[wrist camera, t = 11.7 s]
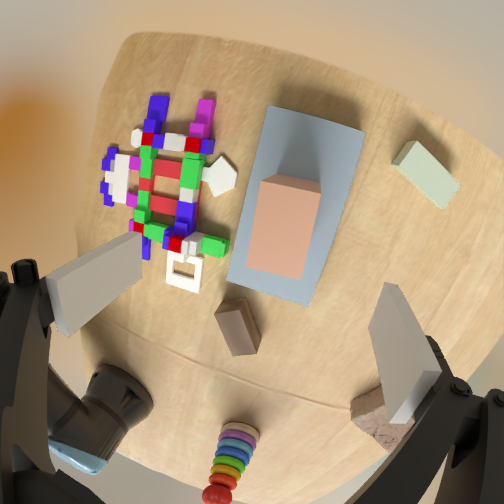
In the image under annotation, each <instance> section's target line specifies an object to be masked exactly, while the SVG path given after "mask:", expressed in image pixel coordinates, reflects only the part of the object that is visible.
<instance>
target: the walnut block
mask: <svg viewBox="0 0 504 504" xmlns="http://www.w3.org/2000/svg"><path fill="white" fill-rule="evenodd" d="M214 315H215V317H216V320H217V322H218V324H219V326H220V329H221V331H222V333H223V336H224V338H225V340H226V342H227V345H228V347H229V349H230V351H231V353H232V356H240V355H250V354H257V351H258V348H259V345H260V342H261V337H260V334H259V331H258V329H257V326H256V323H255V321H254V318H253V315H252V313H251V310H250V307H249V305H248V302H247V299H246V297H244V298H239V299H233V300H228V301H222V302H221V304H220V306H219V307H218V309H217V310H216V312H215V313H214Z"/></svg>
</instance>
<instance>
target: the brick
mask: <svg viewBox="0 0 504 504" xmlns="http://www.w3.org/2000/svg"><path fill="white" fill-rule="evenodd" d="M350 405H351V408H350V412H351V421H352V422H353V423H354V424H355V425H356V426H357V427H359V428H360V429H361V430H362V431H364V432H366V433H367V434H370V436H372V437H373V438H374V439H375V440H376V441H377V442H379V444H380V445H381V446H382V447H383V448H384V449H386V450H387V451H388V452H389V453H392V452H393V450H394V449H395V448H396V446H397V445H398V444H399V443H400V441H401V440H402V437H403V436H404V435H405V434H406V433H407V431H408V430H409V429H410V428H411V426H412V425H413V424H414V423H415V418H414V414H413V415H412V416H411V418H410V419H409V420H408V421H407V423H406V424H391V423H388V417H387V412H386V406H385V400H384V395H383V390H382V385H381V386H379V387H378V388H376V389H374V390H373V391H371V392H369V393H367V394H364V395H362V396H359V397H357V398H356V399H354V400H352V401H351V402H350Z"/></svg>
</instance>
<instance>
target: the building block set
mask: <svg viewBox="0 0 504 504" xmlns="http://www.w3.org/2000/svg"><path fill="white" fill-rule="evenodd" d="M169 100H170V97H168V96H151V97H150V102H149V108H148V113H147V119H145V120H144V126H143V130H141V129H140V128H137V129H135V130H133V131H132V136H131V144H132V145H133V146H134V147H135V148H138V147H139V146H141V147H140V155H139V156H133V155H124V154H118V150H119V148H113V147H108V150H107V159H106V158H103V159H102V170H105V171H106V172H105V181H101V185H100V193H104V205H107V206H111V207H112V206H114V202H118V203H122V204H126V205H127V206H130V207H134V208H136V209H135V211H134V218H133V219H131V220H129V232H130V231H134V232H139V233H142V259H145V260H150V247H151V240H154V241H158V242H161V243H163V246H162V248H163V249H166V250H168V257H167V273H166V283H167V284H170V285H173V286H176V287H179V288H182V289H185V290H189V291H192V292H195V293H198V294H199V293H200V288H201V279H202V271H203V263H204V258H202V257H198V256H195V255H197V254H198V253H199V252H200V251H201V253H204V254H208V255H212V256H215V257H219V258H220V257H224V256H225V255H226V254H227V253H228V248H229V242H230V240H227V239H223V238H219V237H215V236H211V235H207V234H204V233H200V232H196V231H195V228H196V220H197V212H198V205H199V198H200V191H201V184H202V181H205V182H207V183H208V185H209V187H210V189H211V192H212V194H213V196H214V197H216V196H218V195H220V194H222V193H224V192H226V191H228V190H230V189H232V188H234V187H236V182H237V176H238V173H237V172H236V170H235V169H234V168H233V167H232V166H231V165H230V164H229V162H228V161H227V160H226V159H225V158H224V157H223V156H221V157H220V158H219V159H218V160H217V161H216V162H215V163H214V164H213V165H212V166H211V167H210V168H209V167H204V165H205V159H206V154H213V150H214V145H215V140H210V139H209V137H210V132H211V126H212V121H213V116H214V111H215V106H216V101H214V100H207V99H199V102H198V107H197V112H196V118H195V123H191V124H190V130H189V135H184V134H176V133H165V135H161V134H160V133H161V127H162V121H166V116H167V110H168V105H169ZM205 138H206V139H205ZM158 148H160V149H164V150H172V151H179V152H186V154H185V158H183V162H176V161H170V160H163V159H157V153H158ZM131 169H133V170H139V171H140V177H139V188H138V193H133V192H129V183H130V172H131ZM155 175H158V176H164V177H169V178H175V179H180V184H179V187H181V190H180V198H179V200H177V199H173V198H168V197H163V196H159V195H154V194H153V187H154V177H155ZM152 211H155V212H159V213H164V214H168V215H172V216H176V218H175V224H174V226H168V225H164V224H161V223H157V222H153V221H151V219H152ZM175 261H178V262H182V263H184V262H188V263H192V264H195V265H196V266H195V275H194V278H191V277H187V276H184V275H181V274H178V273H175V272H174V262H175Z"/></svg>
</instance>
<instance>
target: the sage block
mask: <svg viewBox="0 0 504 504" xmlns="http://www.w3.org/2000/svg"><path fill="white" fill-rule="evenodd" d="M391 165H392V166H393V167H394V168H395V169H397V170H398V171H399V172H400V173H401V174H402V175H403V176H404V177H405V178H407V179H408V180H409V181H410V182H411V183H412V184H413V185H414V186H415V187H416V188H417V189H418V190H419V191H420V192H421V193H422V194H423V195H424V196H425V197H426V198H427V199H428V200H429V201H430V202H431V203H432V204H434V205H436V206H438V207H439V208H441V209H443V210H444V208H445V207H446V205H447V204H448V203H449V201H450V200H451V199H452V197H453V196H454V194H455V193H456V192H457V190H458V189H459V187H460V186H461V185H460V184H459V183H458V182H457V181H456V180H455V179H454V178H453V176H452V175H451V174H450V173H449V172H448V171H447V170H446V169H445V168H444V167H443V166H442V165H441V164H440V163H439V162H438V161H437V160H436V159H435V158H434V157H433V156H432V155H431V154H430V153H429V152H428V151H427V150H426V149H425V148H424V147H423V146H422V145H421V144H420V143H419V142H418V141H408V142H407V143H406V144H405V146H404V147H403V149H402V150H401V151H400V153H399V154H398V155H397V157H396V158H395V160H394V161H393V162H392V164H391Z"/></svg>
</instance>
